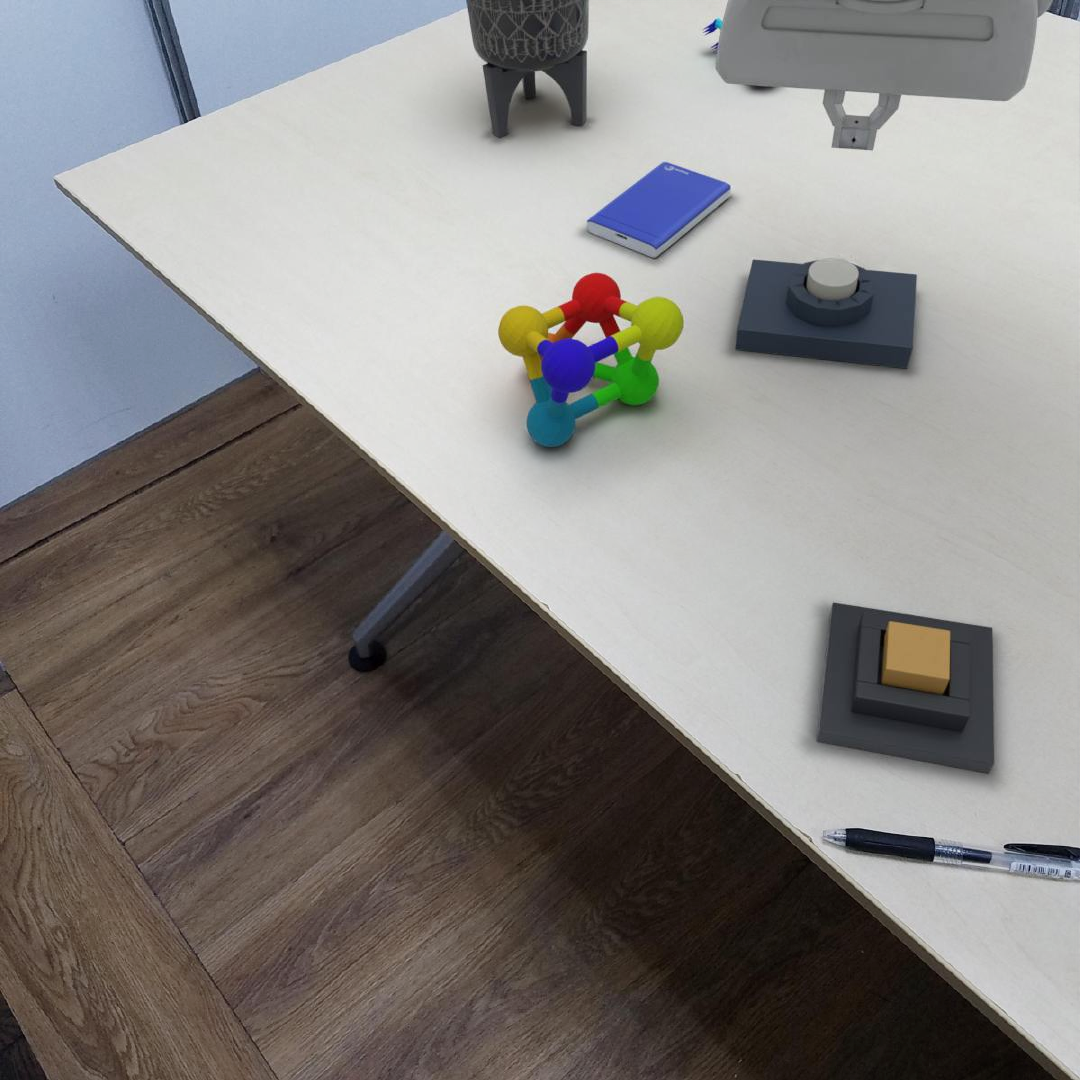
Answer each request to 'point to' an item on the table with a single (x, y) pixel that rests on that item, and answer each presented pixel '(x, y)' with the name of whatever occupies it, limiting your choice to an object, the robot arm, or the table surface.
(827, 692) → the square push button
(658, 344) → the molecular model
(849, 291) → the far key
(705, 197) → the hard drive
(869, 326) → the push button box
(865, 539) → the table surface
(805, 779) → the table surface
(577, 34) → the planter
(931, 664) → the tan square block
